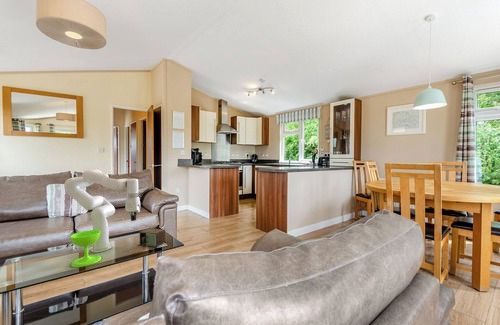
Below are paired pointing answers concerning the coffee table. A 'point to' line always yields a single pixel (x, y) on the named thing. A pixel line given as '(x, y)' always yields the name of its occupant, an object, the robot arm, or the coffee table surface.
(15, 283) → the coffee table surface
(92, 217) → the robot arm
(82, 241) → the wineglass
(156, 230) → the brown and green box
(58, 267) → the coffee table surface
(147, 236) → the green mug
